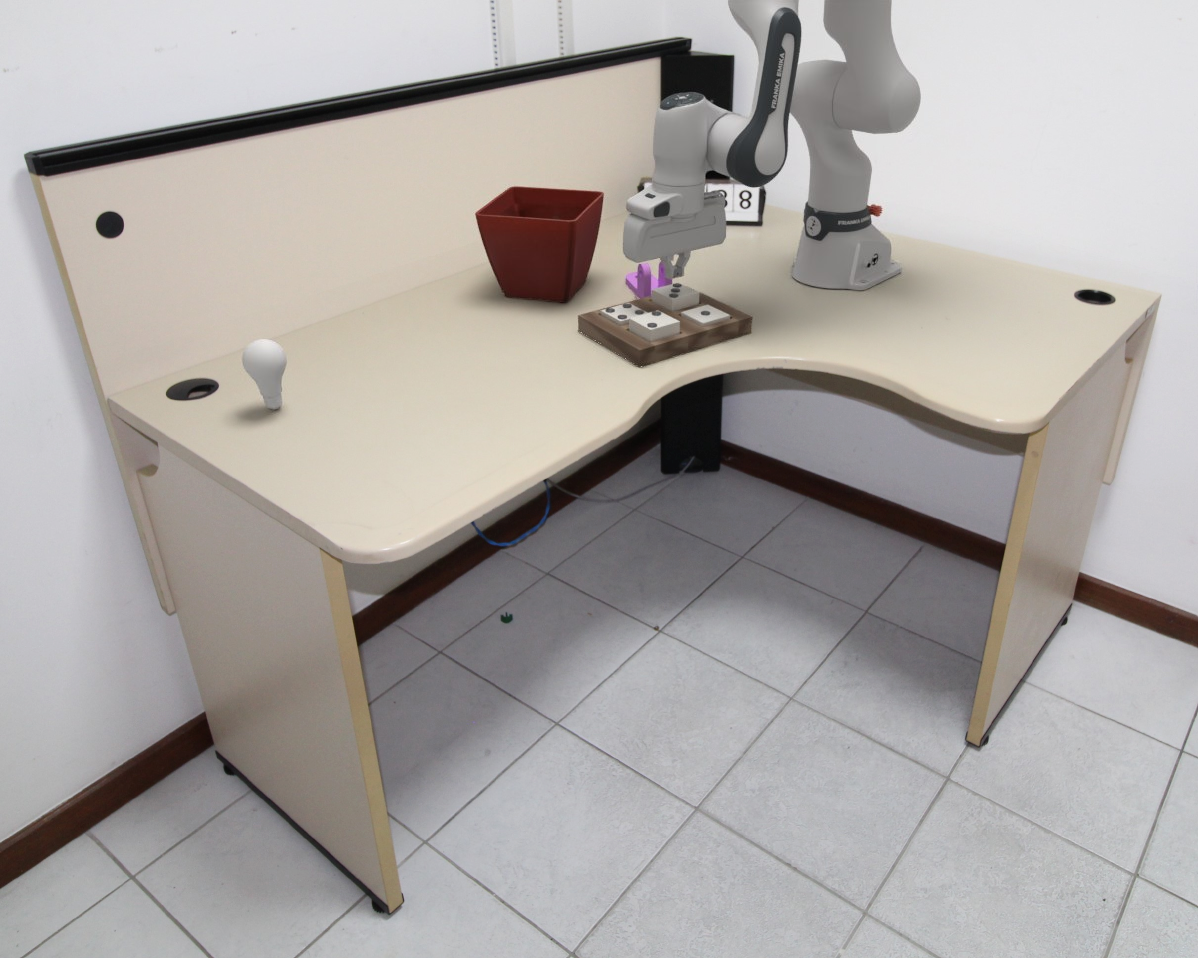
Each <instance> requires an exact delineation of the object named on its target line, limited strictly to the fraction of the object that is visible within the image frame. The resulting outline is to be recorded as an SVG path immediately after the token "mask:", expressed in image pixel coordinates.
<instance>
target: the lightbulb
mask: <svg viewBox="0 0 1198 958" xmlns="http://www.w3.org/2000/svg"><path fill="white" fill-rule="evenodd" d="M241 359H242V360H241V361H242V362H241V363H242V367H243V369H244V370H245V372H246V373H247V374H248V376H250V378H251V379H252V380H253V381H254V382H255V384H256V386H257V388H258V390H259V393H260V395H261V396H262V399H263V403H264V405H265V407H266V408H267V409H270V410H273V411H274V410H277V409H279V408H280V407H281V406H282V405H283V396H282V392H283V386H282V385H283V384H282V380H283V376H284V373H285V370H286V368H287V364H288V363H287V361H288V360H287V355H286V353H285V350H284V349H283V347H282V346H281V345H280V344H279V343H278V342H275V341H274V340H271V339H266V338H261V339H255V340H254V341H252V342H250V343H249V344H248V345H247V346H246V347H245V348H244V351H243V353H242V356H241Z"/></svg>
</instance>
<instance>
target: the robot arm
mask: <svg viewBox="0 0 1198 958" xmlns="http://www.w3.org/2000/svg"><path fill="white" fill-rule="evenodd" d="M799 2H800V1H799V0H727V5H728V8H729V11H730V13H731V15H732V17H733V20H735V22H736V23H737V25H738V27H740V29H742V30H743V31H744V32H745V33H746V34H747V35H748V36H749V38H750V39H751V40H752V42H753V43H754V46H755V48H756V51H757V57H758V66H757V74H756V79H755V87H754V91H753V99H752V105H751V110H750V114H749V116H747V115H742V114H740V113H736V112H733V111H730V110H727V109H725V108H722V107H719V106H717V105H716V104H714V103H712V102H711V101H710V100H709V99H707V98H706V96H705V95H704V94H702V93H699V92H695V91H694V92H693V91H688V92H679V93H673V94H671V95H668V96H667V97H665V98H664V99H662V101H660V103H659V106H658V107H657V110H656V114H655V119H654V127H653V136H652V137H653V138H652V139H653V140H652V155H653V159H654V169H653V173H652V177H651V184H650V185H648V186H647V187H645V188H644V189H643V190H641V191H639V192H638V193H636V194H634V195H633V196H631V197H629V198H628V199H627V200H626V204H625V208H626V211H627V212H629V214H628V215H627V217H626V218H625V221H624V225H623V232H622V234H623V235H622V253H623V255H624V257H625V258H626V259H627V260H629V261H630V262H633V263H636V264H641V263H643V262H644V263H646V262H648V261H652V260H657V259H659V260H660V262H662V264H663V265H664V267H665V277H666V278H668V279H672V280H673V279H677V278H682V277H684V276H685V267H686V266H687V264H688V262H689V260H690V258H691V252H692V251H697V250H701V249H702V250H703V249H705V248H710V247H713V246H719V245H722V244H723V243H724V241H725V239H727V218H726V217H727V216H726V209H725V207H726V197H725V195H724V194H723V193H722V192H720V191H719V190H717V189H715V190H711V191H706V192H705V190H706V189H705V188H706V174H707V173H708V172H710V171H715V172H716V173H719V174H721V175H724V176H726V177H730V178H731V179H733V180H734V181H736V182H738V183H741V184H742V185H744V186H746V187H747V188H752V189H754V188H755V189H756V188H759V187H763V186H765V185H768V184H769V183H770V182H771V181H773V180H774V179H775V178H776V177H777V176H778V174H779V173H781V171H782V169H783V168H784V165H785V163H786V160H787V156H788V150H789V120H790V115H791V116H792V117H793V118H794V119H795V121H796V122H797V124H798V125H799V127H800V129H801V131H802V133H803V137H804V139H805V142H806V146H807V149H808V155H809V184H808V194H807V201H806V202H805V204H804V208H803V209H804V210H803V218H802V219H803V220H802V221H803V227H802V229H801V234H800V238H799V242H798V247H797V252H796V257H795V258H794V259H793V262H792V266H793V268H792V270H791V275H792V277H793V278H794V280H796V281H798V282H800V283H801V284H805V285H807V286H812V287H817V288H825V289H845V290H847V289H849V290H854V291H866V290H868V289H869V288H872V287H874V286H877V284H880V283H882V282H884V281H885V280H888V279H890V278H892V277H894V276H896V275H898V274H900V273H902V270H903V266H901V265H900V264H899V262H896V261H895V260H892V243H891V241H890V239H889V238H888V237H887V236H886V235H885V234H884V233H882V232H881V230H879V229H878V228H877V227H876V226H875V225H874V224H873V223H872V222H873V221H872V215H873V216H874V217H877V218H878V217H881V214H883V207H882V206H881V205H876V204H875V203H873V204H871V205H868V203H869V194H870V188H871V181H872V180H871V178H872V173H873V166H872V162H871V160H870V158H869V156H868V155H867V154H866V153H865V152H864V151H863V150H862V149H860V147H859V146H858V144H857V142H856V141H855V140H856V139H855V138H854V135H853V131H854V132H855V131H856V132H859V133H867V134H871V135H872V134H873V135H877V134H878V135H880V134H885V135H886V134H895V133H896V134H897V133H901V132H903V131H904V130H905V129H907V128H908V127H909V126H910V125H911V124H912V122H913V121H914V119H915V118H916V117H917V114H918V112H919V109H920V104H921V98H922V97H921V89H920V85H919V82H918V80H917V78H916V77H915V76H914V75H913V74H912V73H911V72H910V71H909V70H908V68H907V67H906V66H905V64H904V63H903V61H902V59H901V57H900V55H899V51H898V49H897V47H896V44H895V39H894V37H893V29H892V4H893V3H892V2H893V0H824V1H823V2H824V3H823V16H822V17H823V19H822V20H823V27H824V29H825V32H826V33H827V35H828V36H829V37H830V38H831V39H832V40H834V41H835V42H836V43H837V44H838V46H839V47H840V49H841V51H842V53H843V56H844V58H845V61H841V60H832V59H817V60H810V61H809V60H808V61H802V62H801V63H799V60H800V59H799V58H800V51H801V45H802V23H801V20H800V17H799ZM675 255H677V256H678V257H677V259H676V262H675V264H673V261H674V260H675V259H674V258H675Z"/></svg>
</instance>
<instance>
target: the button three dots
mask: <svg viewBox="0 0 1198 958" xmlns="http://www.w3.org/2000/svg"><path fill="white" fill-rule="evenodd" d="M691 288H692V287H690V288H689V286H687V285H684V284H682V283H681V282H676V283H672V284H671V285H667V286H663V287H659V288H656V289H652V299H651V302H653V303H655V304H657V305H659V306H661V307H663V308H665V309H667V310H669V311H671V312H673V311H676V310H680V309H683V308H687V307H690V306H694V305H698V304H699V292H700V291H698V290H695V289H694V288H692V289H691ZM693 289H694V290H693Z"/></svg>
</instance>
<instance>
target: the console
mask: <svg viewBox="0 0 1198 958" xmlns="http://www.w3.org/2000/svg"><path fill="white" fill-rule="evenodd" d="M688 287H689V286H688ZM689 288H691V289H693V290H695V289H694V288H692V287H689ZM698 292H699V304H698V305H694V306H690V307H687V308H683V309H680V310H676V311H673V312H671V311H669V310H667V309H665V308H663V307H661V306H659V305H657V304H655V303H653V302H651V299H652V296H648V297H644V298H641V299H639V298H638V299H634V300H631V301H626V302H622V303H620V304H619V303H618V304H614V305H611V306H608V307H603V308H600V309H597V310H592V311H589V312H585V313H581V314H577V323H578V325H577V328H578V330H577V331H578V332H579V331H580V332H582V333H583V334H582V333H581V334H582V335H584V334H585V335H587V336H589V337H590V338H589V337H588V338H589V339H591V338H592V339H594V340H596V341H597V342H599V343H601V344H602V345H604V346H606V347H607V348H606V347H605V348H606V349H608V348H609V349H610V350H609V349H608V350H609V351H611V350H612V351H611V352H613V351H614V352H616V353H617V354H616V353H615V354H616V355H618V354H619V355H620V357H621V356H622V357H621V358H623V357H624V358H623V359H625V358H626V359H627V361H628V360H629V361H628V362H630V363H631V362H632V363H631V364H633V363H634V364H633V365H635V366H636V365H637V366H636V367H638V368H642V367H645V366H648V365H652V364H655V363H658V362H662V361H665V360H667V358H668V359H671V358H674V356H675V357H677V356H680V355H685V354H687V352H688V353H690V352H694V351H696V350H700V349H703V348H704V349H705V348H707V347H710V346H713V345H716V344H719V343H723V342H726V341H729V340H732V339H735V338H739V337H742V336H745V335H749V334H752V330H753V319H754V318H753V315H750V314H749V313H746V312H744V311H741V310H740V309H737V308H735V307H732V306H731V305H728V304H726V303H724V302H722V301H720V300H718V299H715V298H714V297H711V296H709V295H707V294H705V293H702V292H700V291H698ZM627 303H630V304H632V305H634V306H636V307H638V308H640V309H642V310H644V311H645V312H647V313H650V312H653V311H657V310H658V311H660V312H662V313H664V314H666V315H668V316H670V317H672V318H674V319H676V320H678V321H680V334H678V335H674V336H671V337H668V338H664V339H661V340H657V341H654V342H651V343H650V342H648V341H646V340H644V339H642V338H641V337H639V336H637V335H635V334H633V333H632V332H630V331H629V324H626V325H623V326H619V325H617V324H615V323H613V322H612V321H610V320H608V319H606V318H604V317H603V316H601V310H604V309H608V308H612V307H615V306H619V305H623V304H627ZM705 305H710V306H712V307H714V308H716V309H718V310H720V311H722V312H725V313H727V314H729V315H730V319H729V320H725V321H722V322H718V323H715V324H712V325H708V326H705V327H701V326H699V325H697V324H695V323H693V322H691V321H689V320H687V319H685V318H683V317H681V312H683V311H687V310H690V309H694V308H697V307H701V306H705ZM580 332H579V333H580ZM585 335H584V336H585ZM587 336H586V337H587ZM592 339H591V340H592ZM594 340H593V341H594ZM596 341H595V342H596ZM597 342H596V343H597ZM599 343H598V344H599ZM601 344H600V345H601ZM602 345H601V346H602ZM604 346H603V347H604ZM614 352H613V353H614ZM619 355H618V356H619ZM626 359H625V360H626ZM664 359H665V360H664ZM661 360H662V361H661ZM651 363H652V364H651ZM641 366H642V367H641Z"/></svg>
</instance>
